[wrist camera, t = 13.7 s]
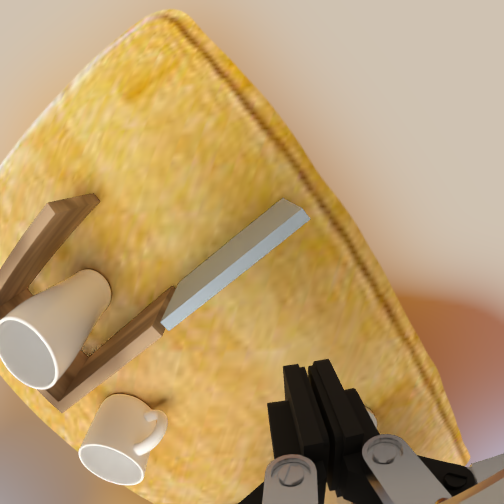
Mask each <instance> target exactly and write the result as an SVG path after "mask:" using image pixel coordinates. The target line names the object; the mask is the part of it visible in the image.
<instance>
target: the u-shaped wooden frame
mask: <svg viewBox="0 0 504 504" xmlns="http://www.w3.org/2000/svg"><path fill="white" fill-rule="evenodd" d="M99 202H100V201H99V200H98V198H97V197H96V196H95V194H94V193H93V194H88V195H82V196H77V197H72V198H67V199H63V200H58V201H53V202H49V203H47V204H46V205H45V206H44V208H43V209H42V210H41V212H40V213H39V214H38V216H37V217H36V218H35V219H34V221H33V222H32V224H31V225H30V226H29V228H28V229H27V230H26V232H25V233H24V235H23V236H22V237H21V239H20V240H19V242H18V243H17V245H16V246H15V248H14V249H13V251H12V252H11V254H10V255H9V257H8V258H7V260H6V261H5V263H4V264H3V266H2V267H1V269H0V320H1V319H2V318H3V317H4V316H5V315H7V314H8V313H9V312H10V311H11V310H13V309H14V308H15V307H17V306H18V305H19V304H21V303H22V302H24V301H25V300H27V299H29V298H30V297H32V296H33V295H32V294H31V293H30V292H29V290H28V289H27V288H28V286H29V285H30V284H31V282H32V281H33V280H34V278H35V277H36V276H37V274H38V273H39V272H40V271H41V269H42V268H43V267H44V265H45V264H46V263H47V262H48V260H49V259H50V258H51V257H52V256H53V254H54V253H55V252H56V251H57V249H58V248H59V247H60V246H61V245H62V243H63V242H64V241H65V240H66V239H67V238H68V236H69V235H70V234H71V233H72V232H73V231H74V230H75V228H76V227H77V226H78V225H79V224H80V223H81V222H82V221H83V219H84V218H85V217H86V216H87V215H88V214H89V213H90V212H91V211H92V210H93V209H94V208H95V206H96V205H97V204H98V203H99ZM175 290H176V289H175V288H174V287H173V286H171V287H170V288H169V289H168V290H167V291H165V292H164V293H163V294H162V295H161V296H160V297H158V298H157V299H156V300H155V301H154V302H152V303H151V304H150V305H149V306H148V307H147V308H145V309H144V310H143V311H142V312H141V313H140V314H138V315H137V316H136V317H135V318H134V319H133V320H131V321H130V322H129V323H128V324H127V325H126V326H124V327H123V328H122V329H121V330H120V331H119V332H117V333H116V334H115V335H114V336H113V337H112V338H110V339H109V340H108V341H107V342H106V343H105V344H104V345H102V346H101V347H100V348H99V349H98V350H97V351H96V352H94V353H93V354H92V355H91V356H90V357H89V358H88V357H87V356H86V355H85V354H84V353H83V352H82V351H81V350H80V351H79V353H78V355H77V356H76V358H75V359H74V361H73V362H72V364H71V365H70V366H69V368H68V369H67V370H66V371H65V373H64V374H63V375H62V376H61V378H60V379H59V380H58V381H57V382H56V383H55V385H54V386H52V387H51V388H49V389H44V390H40V389H37V390H38V391H39V392H40V393H41V394H42V395H43V396H44V397H45V398H46V399H47V400H48V401H49V402H50V403H51V404H52V405H53V406H54V407H56V408H57V409H58V410H59V411H60V412H61V413H63V412H64V411H66V410H67V409H68V408H70V407H71V406H72V405H74V404H75V403H76V402H78V401H79V400H80V399H81V398H83V397H84V396H85V395H87V394H88V393H89V392H91V391H92V390H93V389H95V388H96V387H97V386H98V385H100V384H101V383H102V382H104V381H105V380H106V379H108V378H109V377H110V376H111V375H113V374H114V373H115V372H117V371H118V370H119V369H121V368H122V367H123V366H124V365H126V364H127V363H128V362H130V361H131V360H132V359H134V358H135V357H136V356H137V355H139V354H140V353H141V352H143V351H144V350H145V349H146V348H148V347H149V346H150V345H152V344H153V343H154V342H155V341H157V340H158V339H159V338H161V337H162V335H163V333H164V330H165V327H164V326H163V325H162V324H161V323H160V322H161V320H162V317H163V315H164V313H165V311H166V309H167V307H168V304H169V302H170V300H171V298H172V296H173V294H174V292H175Z"/></svg>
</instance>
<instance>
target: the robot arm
mask: <svg viewBox="0 0 504 504" xmlns="http://www.w3.org/2000/svg"><path fill="white" fill-rule="evenodd" d="M283 374H284V388H285V401H280V402H272V403H267V406H268V415H269V423H270V431H271V438H272V445H273V452H274V459H275V460H273V461H272V462H271V463H270V464H269V465H268V466H267V469H266V472H265V480H264V482H263V483H262V484H261V485H260V486H258V487H257V488H256V489H255V490H254V491H253V492H251V493H250V494H249V495H248V496H247V497H246V498H244V499H243V500H242V501H241V502H240V503H238V504H504V454H501V455H498V456H495V457H492V458H489V459H486V460H483V461H479V462H476V463H473V464H471V465H470V467H464V466H461V465H457V464H452V463H447V462H443V461H439V460H434V459H430V458H426V457H422V456H418V455H416V454H415V453H414V451H413V450H412V449H411V448H410V447H409V446H408V444H407V443H406V442H405V441H404V440H403V439H401V438H400V437H398V436H395V435H390V434H381V435H380V434H379V433H378V431H377V420H376V418H375V416H374V414H373V412H372V411H371V410H370V409H368V408H366V407H365V406H364V404H363V402H362V400H361V398H360V396H359V394H358V393H357V391H356V389H354V388H352V389H348V390H344V389H343V387H342V385H341V383H340V381H339V379H338V377H337V375H336V373H335V371H334V369H333V367H332V364H331V362H330V360H329V359H325V360H319V361H314V362H313V366H309V367H308V375H307V373H306V370H305V367H300V368H299V365H298V364H295V365H288V366H283Z"/></svg>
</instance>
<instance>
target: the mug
mask: <svg viewBox="0 0 504 504" xmlns="http://www.w3.org/2000/svg"><path fill="white" fill-rule="evenodd" d="M156 420H157V423H156ZM167 425H168V419H167V416H166V414H165V413H164V412H163V411H161V410H151V408H150V407H149V406H148V405H147V404H145V403H144V402H143V401H141V400H140V399H138V398H136V397H133V396H130V395H126V394H114V395H111V396H109V397H107V398H106V399H105V400H104V401H103V402H102V404H101V405H100V407H99V409H98V411H97V413H96V415H95V417H94V419H93V422H92V424H91V426H90V428H89V430H88V432H87V434H86V436H85V438H84V440H83V443H82V445H81V447H80V449H79V458H80V460H81V462H82V463H83V464H84V466H85V467H86V468H87V469H88V470H89V471H91V472H92V473H93V474H95V475H96V476H98V477H100V478H102V479H104V480H106V481H109V482H112V483H115V484H120V485H135V484H138V483H140V482H141V481H142V480H143V478H144V474H145V470H146V466H147V462H148V458H149V454H150V450H152V449H153V448H154V447H155V446H156V445H157V444H158V443H159V442H160V441H161V439H162V438H163V436H164V434H165V432H166V429H167Z"/></svg>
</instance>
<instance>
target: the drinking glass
mask: <svg viewBox="0 0 504 504" xmlns="http://www.w3.org/2000/svg"><path fill="white" fill-rule="evenodd" d="M110 301H111V290H110V286H109V284H108V282H107V280H106V279H105V278H104V277H103V276H102V275H101V274H100V273H98V272H96V271H94V270H90V269H85V270H81V271H79V272H77V273H76V274H74V275H73V276H71V277H69V278H67V279H65V280H63V281H61V282H59V283H57V284H55V285H53V286H52V287H50V288H48V289H46V290H44V291H42V292H40V293H38V294H36V295H34V296H32V297H30V298H29V299H27V300H25V301H24V302H22V303H21V304H19V305H18V306H17V307H15V308H14V309H13V310H11V311H10V312H9V313H8V314H7V315H5V316H4V317H3V318H2V319H1V320H0V358H1V360H2V362H3V363H4V365H5V366H6V368H7V369H8V370H9V371H10V372H11V374H12V375H13V376H14V377H16V378H17V379H18V380H19V381H21V382H22V383H24V384H25V385H27V386H29V387H31V388H35V389H40V390H44V389H49V388H51V387H52V386H54V385H55V383H56V382H57V381H58V380H59V379H60V378H61V376H62V375H63V374H64V373H65V371H66V370H67V369H68V368H69V366H70V365H71V364H72V362H73V361H74V359H75V358H76V356H77V355H78V353H79V351H80V350H81V348H82V346H83V344H84V343H85V341H86V339H87V338H88V336H89V334H90V333H91V331H92V329H93V328H94V326H95V324H96V323H97V321H98V320H99V318H100V316H101V315H102V313H103V312H104V311H105V310H106V309H107V307H108V306H109V304H110Z"/></svg>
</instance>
